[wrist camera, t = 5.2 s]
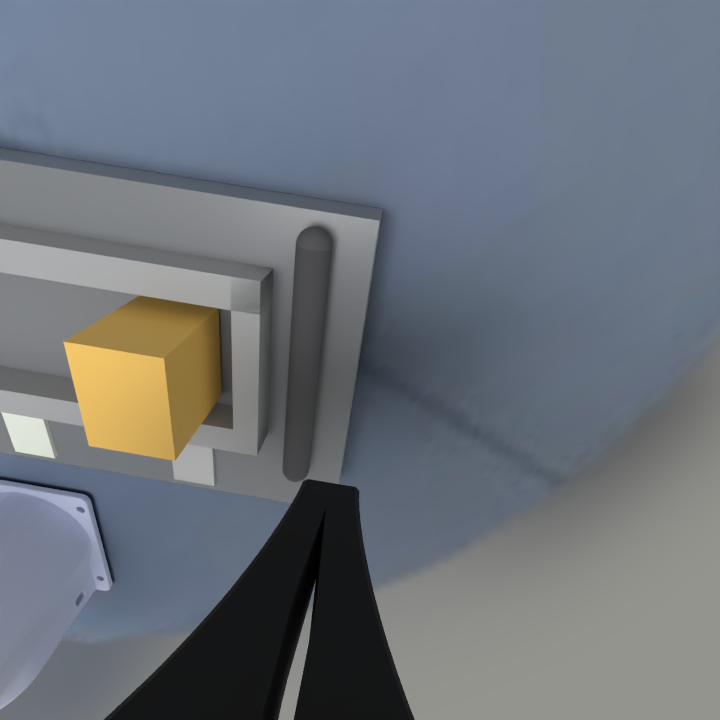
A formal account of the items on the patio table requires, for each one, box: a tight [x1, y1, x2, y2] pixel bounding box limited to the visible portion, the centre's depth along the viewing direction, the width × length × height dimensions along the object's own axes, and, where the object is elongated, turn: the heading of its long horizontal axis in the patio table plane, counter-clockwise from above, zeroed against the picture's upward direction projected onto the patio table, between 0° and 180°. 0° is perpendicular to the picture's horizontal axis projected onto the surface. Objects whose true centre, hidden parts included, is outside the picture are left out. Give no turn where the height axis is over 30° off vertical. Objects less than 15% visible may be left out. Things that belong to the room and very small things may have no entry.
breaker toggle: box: [63, 295, 221, 461], centre depth 15 cm, size 4×3×4 cm
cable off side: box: [282, 227, 332, 482], centre depth 16 cm, size 11×1×1 cm, turn 172°
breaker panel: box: [0, 148, 383, 503], centre depth 18 cm, size 14×22×4 cm, turn 82°
